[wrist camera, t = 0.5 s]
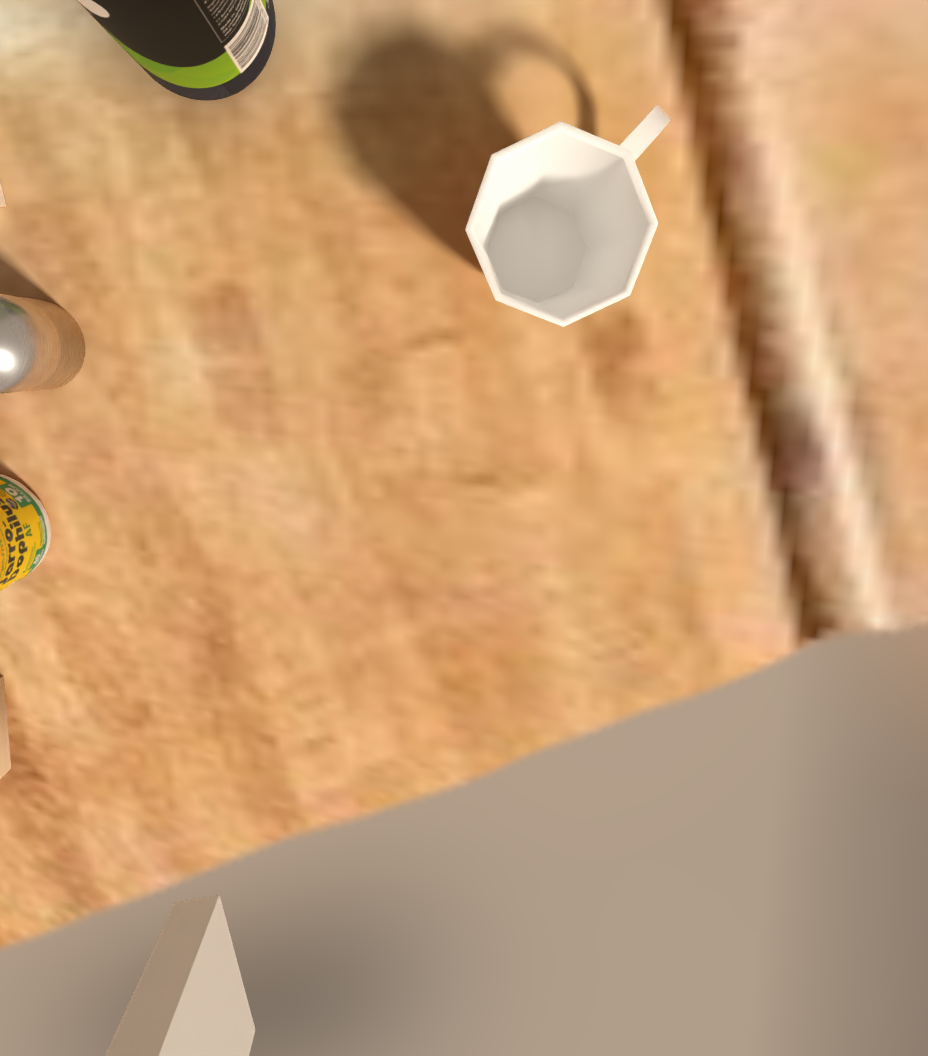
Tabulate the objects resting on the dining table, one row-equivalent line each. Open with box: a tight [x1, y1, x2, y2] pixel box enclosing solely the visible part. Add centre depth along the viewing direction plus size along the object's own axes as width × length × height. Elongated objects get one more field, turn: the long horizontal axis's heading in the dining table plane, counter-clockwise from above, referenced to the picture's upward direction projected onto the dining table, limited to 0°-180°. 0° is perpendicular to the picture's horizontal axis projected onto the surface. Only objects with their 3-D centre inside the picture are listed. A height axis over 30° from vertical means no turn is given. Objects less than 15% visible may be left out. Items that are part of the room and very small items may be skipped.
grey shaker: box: [0, 294, 85, 393], centre depth 34 cm, size 4×4×6 cm
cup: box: [465, 105, 671, 327], centre depth 33 cm, size 7×10×8 cm
